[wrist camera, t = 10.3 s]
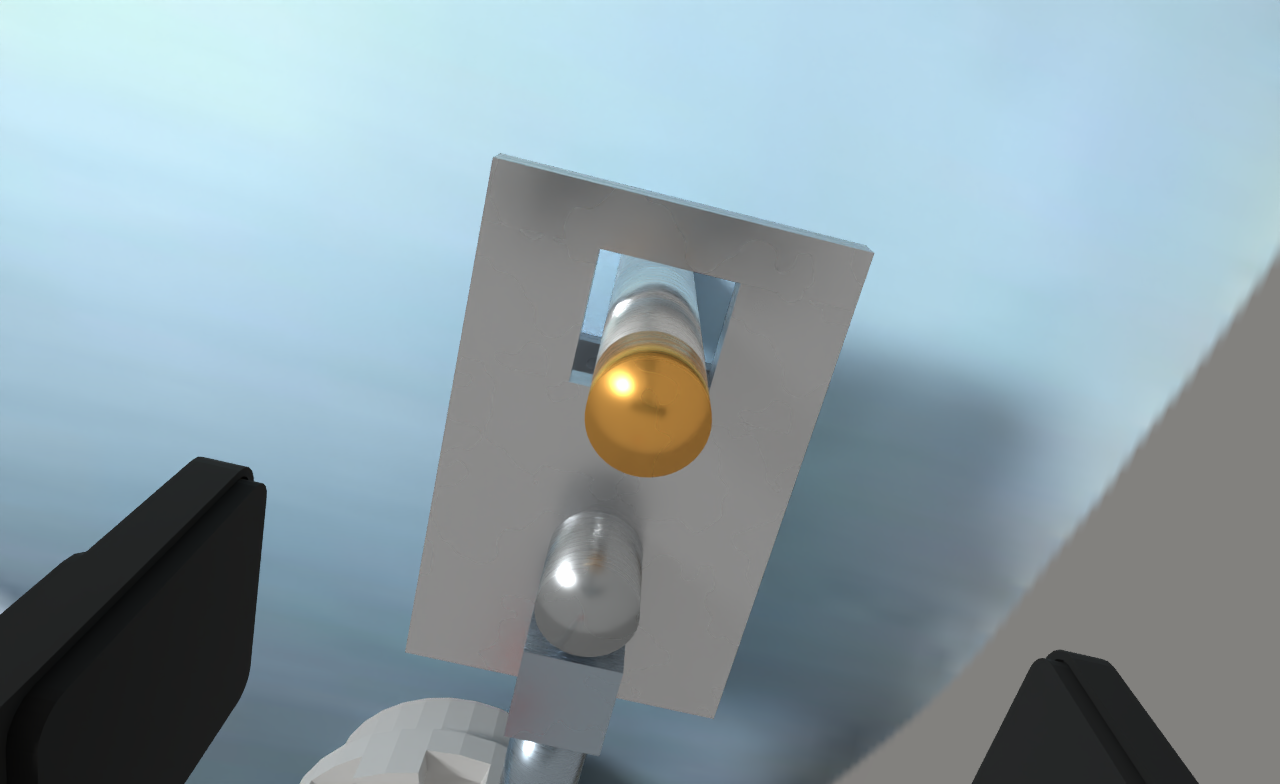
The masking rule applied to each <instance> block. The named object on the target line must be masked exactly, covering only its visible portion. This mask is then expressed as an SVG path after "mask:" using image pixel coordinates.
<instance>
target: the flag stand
mask: <svg viewBox="0 0 1280 784" xmlns="http://www.w3.org/2000/svg"><path fill="white" fill-rule="evenodd" d="M508 715H509V713H508V712H506V711H504V710H502V709H499V708H496V707H493V706H490V705H486V704H483V703H480V702H477V701H470V700H463V699H457V698H425V699H420V700H414V701H409V702H404V703H401V704H398V705H396V706H393V707H390V708H388V709H385V710H383V711H381V712H379V713H378V714H376V715H374V716H373V717H371V718H370V719H368V720H366V721H365V722H364V723H363V724H362V725H361V726H360V727H359V728H358V729H357V730H356V731H355V732H354V733H353V734H352V735H351V736H350V737H349V739H348V740H347V742H346V744H345V745H343V746H342V747H340V748H338V749H337V750H335V751H333V752H332V753H330V754H329V755H327V756H325V757H324V758H322V759H321V760H320V761H319V762H318V763H317V764H316V765H315V766H314V767H313V768H312V769H311V770H310V771H309V772H308V773H307V774H306V775H305V776H304V777H303V779H302V780H301V782H300V784H499V781H500V777H501V773H502V768H503V764H504V760H505V756H506V752H507V748H508V744H509V739H510V737H506V736H504V732H505V727H506V723H507V719H508Z"/></svg>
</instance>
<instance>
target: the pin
mask: <svg viewBox="0 0 1280 784" xmlns="http://www.w3.org/2000/svg"><path fill="white" fill-rule="evenodd" d="M711 427H712V411H711V404H710V396H709V388H708V381H707V373H706V365H705V358H704V350H703V342H702V335H701V327H700V319H699V312H698V304H697V296H696V289H695V281H694V273H693V272H692V271H688V270H684V269H680V268H676V267H672V266H668V265H664V264H660V263H656V262H652V261H648V260H644V259H640V258H636V257H632V256H628V255H624V254H621V257H620V261H619V265H618V269H617V274H616V278H615V282H614V287H613V291H612V295H611V300H610V304H609V308H608V313H607V317H606V321H605V326H604V330H603V334H602V339H601V343H600V347H599V352H598V356H597V360H596V365H595V369H594V373H593V378H592V382H591V386H590V391H589V395H588V399H587V403H586V409H585V428H586V432H587V436H588V438H589V441H590V443H591V445H592V447H593V448H594V450H595V451H596V452H597V454H598V455H599V456H600V457H601V458H602V459H603V460H604V461H605V462H606V463H608V464H609V465H610V466H612V467H613V468H615V469H617V470H618V471H621V472H623V473H625V474H629V475H632V476H637V477H648V478H651V477H660V476H666V475H669V474H672V473H675V472H677V471H679V470H681V469H683V468H684V467H686V466H687V465H689V464H690V463H691V462H692V461H694V460H695V458H696V457H697V456H698V455H699V454H700V453H701V451H702V450H703V449H704V447H705V445H706V443H707V441H708V438H709V436H710V432H711Z"/></svg>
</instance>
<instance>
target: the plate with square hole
mask: <svg viewBox="0 0 1280 784" xmlns="http://www.w3.org/2000/svg"><path fill="white" fill-rule="evenodd" d="M600 249H603V250H608V251H612V252H616V253H620V254H624V255H628V256H632V257H636V258H640V259H644V260H648V261H652V262H656V263H660V264H664V265H668V266H672V267H676V268H680V269H684V270H688V271H692V272H697V273H701V274H705V275H709V276H713V277H717V278H721V279H725V280H729V281H733V282H736V283H735V286H734V290H733V293H732V297H731V300H730V304H729V307H728V310H727V314H726V317H725V321H724V324H723V328H722V331H721V335H720V338H719V341H718V345H717V348H716V352H715V355H714V359H713V362H712V364H709V363H705V365H706V373H707V381H708V388H709V396H710V404H711V411H712V427H711V432H710V436H709V438H708V441H707V443H706V445H705V447H704V449H703V450H702V451H701V453H700V454H699V455H698V456H697V457H696V458H695V460H694V461H692V462H691V463H690V464H689V465H687V466H686V467H684V468H683V469H681V470H679V471H677V472H675V473H672V474H669V475H666V476H660V477H651V478H648V477H637V476H632V475H629V474H625V473H623V472H621V471H618V470H617V469H615V468H613V467H612V466H610V465H609V464H608V463H606V462H605V461H604V460H603V459H602V458H601V457H600V456H599V455H598V454H597V452H596V451H595V450H594V448H593V447H592V445H591V443H590V441H589V438H588V436H587V432H586V428H585V409H586V403H587V399H588V395H589V391H590V386H591V382H592V378H593V373H594V369H595V365H596V360H597V356H598V352H599V347H600V343H601V339H602V337H597V336H593V335H589V334H585V333H581V331H582V326H583V322H584V318H585V313H586V309H587V305H588V300H589V296H590V291H591V287H592V283H593V278H594V274H595V270H596V265H597V261H598V257H599V252H600ZM873 255H874V252H872V251H871V250H870V249H869V248H868V247H867V246H866V245H862V244H858V243H854V242H850V241H846V240H842V239H838V238H834V237H831V236H827V235H823V234H819V233H815V232H811V231H807V230H803V229H799V228H795V227H791V226H787V225H783V224H779V223H775V222H771V221H767V220H763V219H759V218H755V217H751V216H747V215H743V214H739V213H735V212H731V211H727V210H723V209H719V208H716V207H712V206H708V205H704V204H700V203H696V202H692V201H688V200H684V199H680V198H676V197H672V196H668V195H664V194H660V193H656V192H652V191H648V190H644V189H640V188H636V187H632V186H628V185H624V184H620V183H616V182H612V181H608V180H604V179H601V178H597V177H593V176H589V175H585V174H581V173H577V172H573V171H569V170H565V169H561V168H557V167H553V166H549V165H545V164H541V163H537V162H533V161H529V160H525V159H521V158H517V157H513V156H509V155H505V154H501V153H500V154H498V155H496V156H494V157H493V160H492V166H491V171H490V177H489V182H488V188H487V194H486V199H485V205H484V211H483V216H482V222H481V228H480V233H479V239H478V245H477V250H476V256H475V261H474V267H473V273H472V278H471V284H470V290H469V295H468V301H467V307H466V312H465V318H464V323H463V329H462V335H461V340H460V346H459V352H458V357H457V363H456V369H455V374H454V380H453V385H452V391H451V397H450V402H449V408H448V414H447V419H446V425H445V431H444V436H443V442H442V448H441V453H440V459H439V464H438V470H437V476H436V481H435V487H434V493H433V498H432V504H431V510H430V515H429V521H428V526H427V532H426V538H425V543H424V549H423V555H422V560H421V566H420V572H419V577H418V583H417V589H416V594H415V600H414V605H413V611H412V617H411V622H410V628H409V634H408V639H407V645H406V651H405V652H407V653H411V654H416V655H420V656H425V657H430V658H434V659H439V660H444V661H448V662H453V663H457V664H462V665H467V666H471V667H476V668H481V669H485V670H490V671H494V672H499V673H504V674H508V675H513V676H518V677H517V681H516V685H515V689H514V694H513V698H512V702H511V706H510V710H509V715H508V719H507V723H506V727H505V732H504V736H506V737H510V739H509V744H508V748H507V752H506V756H505V760H504V764H503V768H502V773H501V777H500V781H499V784H578V783H579V780H580V776H581V773H582V769H583V766H584V762H585V759H586V755H587V754H591V755H595V756H599V755H600V752H601V748H602V745H603V741H604V738H605V735H606V731H607V728H608V724H609V721H610V717H611V714H612V711H613V707H614V704H615V700H616V698H619V699H624V700H629V701H633V702H638V703H642V704H647V705H652V706H656V707H661V708H666V709H670V710H675V711H679V712H684V713H689V714H693V715H698V716H703V717H707V718H712V719H714V716H715V714H716V711H717V708H718V705H719V702H720V699H721V696H722V693H723V690H724V687H725V685H726V682H727V679H728V676H729V673H730V670H731V667H732V664H733V661H734V658H735V656H736V653H737V650H738V647H739V644H740V641H741V638H742V635H743V632H744V629H745V627H746V624H747V621H748V618H749V615H750V612H751V609H752V606H753V603H754V600H755V598H756V595H757V592H758V589H759V586H760V583H761V580H762V577H763V574H764V571H765V569H766V566H767V563H768V560H769V557H770V554H771V551H772V548H773V545H774V542H775V540H776V537H777V534H778V531H779V528H780V525H781V522H782V519H783V516H784V513H785V511H786V508H787V505H788V502H789V499H790V496H791V493H792V490H793V487H794V484H795V482H796V479H797V476H798V473H799V470H800V467H801V464H802V461H803V458H804V455H805V453H806V450H807V447H808V444H809V441H810V438H811V435H812V432H813V429H814V426H815V424H816V421H817V418H818V415H819V412H820V409H821V406H822V403H823V400H824V397H825V395H826V392H827V389H828V386H829V383H830V380H831V377H832V374H833V371H834V368H835V366H836V363H837V360H838V357H839V354H840V351H841V348H842V345H843V342H844V339H845V337H846V334H847V331H848V328H849V325H850V322H851V319H852V316H853V313H854V310H855V308H856V305H857V302H858V299H859V296H860V293H861V290H862V287H863V284H864V281H865V279H866V276H867V273H868V270H869V267H870V264H871V261H872V258H873Z"/></svg>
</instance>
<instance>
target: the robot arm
mask: <svg viewBox="0 0 1280 784" xmlns="http://www.w3.org/2000/svg"><path fill="white" fill-rule="evenodd" d="M266 498H267V490H266V486H265V485H264V484H263V483H258V482H254V477H253V473H252V470H251V469H250V468H249V467H245V466H241V465H236V464H232V463H227V462H223V461H218V460H214V459H210V458H205V457H197V458H195V459H193V460H192V461H191V462H189V463H188V464H187V465H186V466H185V467H184V468H182V469H181V470H180V471H179V472H178V473H177V474H176V475H174V476H173V477H172V478H171V479H170V480H169V481H167V482H166V483H165V484H164V485H163V486H162V487H160V488H159V489H158V490H157V491H156V492H155V493H154V494H152V495H151V496H150V497H149V498H148V499H147V500H145V501H144V502H143V503H142V504H141V505H140V506H139V507H137V508H136V509H135V510H134V511H133V512H132V513H130V514H129V515H128V516H127V517H126V518H125V519H124V520H122V521H121V522H120V523H119V524H118V525H117V526H115V527H114V528H113V529H112V530H111V531H110V532H108V533H107V534H106V535H105V536H104V537H103V538H102V539H100V540H99V541H98V542H97V543H96V544H95V545H93V546H92V547H91V548H90V549H89V550H88V551H87V552H82V553H76V554H74V555H72V556H71V557H69V558H68V559H66V560H64V561H63V562H62V563H61V564H59V565H58V566H57V567H56V568H55V569H53V570H52V571H51V572H50V573H49V574H48V575H46V576H45V577H44V578H43V579H42V580H40V581H39V582H38V583H37V584H36V585H35V586H33V587H32V588H31V589H30V590H29V591H28V592H26V593H25V594H24V595H23V596H22V597H20V598H19V599H18V600H17V601H16V602H15V603H13V604H12V605H11V606H10V607H9V608H7V609H6V610H5V611H4V612H3V613H2V614H0V784H184V783H185V782H186V780H187V779H188V777H189V776H190V774H191V773H192V771H193V770H194V768H195V767H196V765H197V764H198V762H199V761H200V759H201V758H202V756H203V754H204V753H205V751H206V750H207V748H208V747H209V745H210V744H211V742H212V741H213V739H214V738H215V736H216V735H217V733H218V732H219V730H220V729H221V727H222V726H223V724H224V722H225V721H226V719H227V718H228V716H229V715H230V713H231V712H232V710H233V709H234V707H235V706H236V704H237V703H238V701H239V699H240V697H241V695H242V693H243V691H244V689H245V686H246V683H247V680H248V676H249V672H250V666H251V655H252V645H253V634H254V624H255V613H256V603H257V592H258V582H259V571H260V561H261V550H262V540H263V529H264V519H265V508H266ZM972 784H1199V783H1198V782H1197V781H1196V779H1195V778H1194V777H1193V775H1192V774H1191V772H1190V771H1189V770H1188V768H1187V767H1186V765H1185V764H1184V763H1183V762H1182V760H1181V759H1180V757H1179V756H1178V754H1177V753H1176V752H1175V750H1174V749H1173V748H1172V746H1171V745H1170V743H1169V742H1168V741H1167V739H1166V738H1165V737H1164V735H1163V734H1162V732H1161V731H1160V730H1159V728H1158V727H1157V726H1156V724H1155V723H1154V722H1153V720H1152V719H1151V717H1150V716H1149V715H1148V713H1147V712H1146V711H1145V709H1144V708H1143V706H1142V705H1141V704H1140V702H1139V701H1138V700H1137V698H1136V697H1135V696H1134V694H1133V693H1132V691H1131V690H1130V689H1129V687H1128V686H1127V684H1126V683H1125V682H1124V680H1123V679H1122V678H1121V676H1120V675H1119V673H1118V672H1117V671H1116V669H1115V668H1114V667H1113V666H1112V665H1111V664H1110V663H1109V662H1108V661H1105V660H1103V659H1099V658H1095V657H1090V656H1086V655H1081V654H1077V653H1072V652H1068V651H1064V650H1056V651H1053V652H1052V653H1050V654H1049V655H1048V656H1047V658H1046V659H1045V658H1041V659H1038V660H1036V661H1035V662H1034V663H1033V664H1032V666H1031V667H1030V670H1029V671H1028V673H1027V675H1026V677H1025V679H1024V681H1023V683H1022V685H1021V687H1020V689H1019V691H1018V693H1017V695H1016V697H1015V699H1014V701H1013V703H1012V705H1011V707H1010V709H1009V711H1008V713H1007V715H1006V717H1005V719H1004V721H1003V723H1002V725H1001V727H1000V729H999V731H998V733H997V735H996V737H995V739H994V741H993V743H992V745H991V747H990V749H989V750H988V752H987V754H986V757H985V758H984V761H983V762H982V764H981V766H980V768H979V770H978V772H977V774H976V776H975V778H974V780H973V782H972Z"/></svg>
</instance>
